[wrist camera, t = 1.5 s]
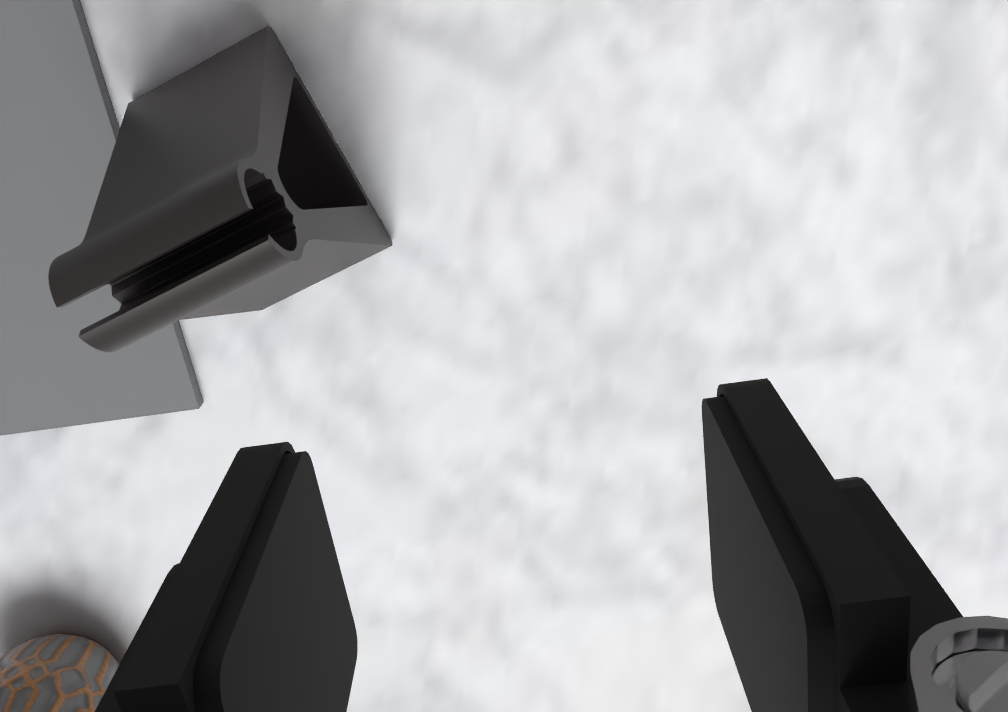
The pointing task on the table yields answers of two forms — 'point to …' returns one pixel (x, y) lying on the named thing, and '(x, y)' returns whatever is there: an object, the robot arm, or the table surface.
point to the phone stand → (218, 200)
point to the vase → (55, 675)
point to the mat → (64, 236)
